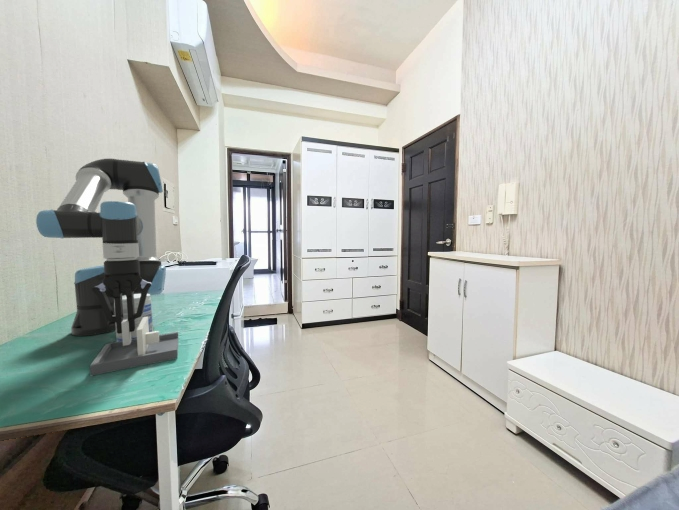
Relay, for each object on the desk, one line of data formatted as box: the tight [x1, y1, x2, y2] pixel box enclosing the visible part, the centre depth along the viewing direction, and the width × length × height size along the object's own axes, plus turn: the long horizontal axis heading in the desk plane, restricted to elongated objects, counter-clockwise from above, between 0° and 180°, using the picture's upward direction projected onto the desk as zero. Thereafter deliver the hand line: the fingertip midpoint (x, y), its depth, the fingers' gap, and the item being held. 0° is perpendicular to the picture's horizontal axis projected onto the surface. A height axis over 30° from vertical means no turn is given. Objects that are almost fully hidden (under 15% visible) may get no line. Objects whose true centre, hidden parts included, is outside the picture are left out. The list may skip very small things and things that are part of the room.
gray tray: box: [89, 331, 179, 377], centre depth 76 cm, size 16×18×2 cm
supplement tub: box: [114, 294, 154, 342], centre depth 86 cm, size 10×10×15 cm
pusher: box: [136, 317, 160, 355], centre depth 77 cm, size 13×4×8 cm, turn 30°
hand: (127, 343), depth 74 cm, fingers closed
